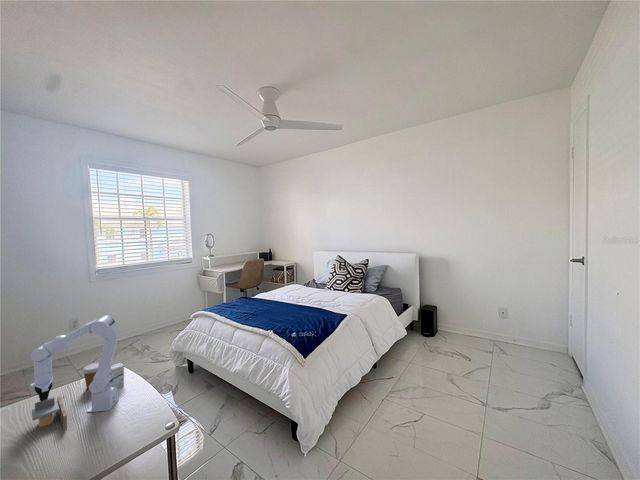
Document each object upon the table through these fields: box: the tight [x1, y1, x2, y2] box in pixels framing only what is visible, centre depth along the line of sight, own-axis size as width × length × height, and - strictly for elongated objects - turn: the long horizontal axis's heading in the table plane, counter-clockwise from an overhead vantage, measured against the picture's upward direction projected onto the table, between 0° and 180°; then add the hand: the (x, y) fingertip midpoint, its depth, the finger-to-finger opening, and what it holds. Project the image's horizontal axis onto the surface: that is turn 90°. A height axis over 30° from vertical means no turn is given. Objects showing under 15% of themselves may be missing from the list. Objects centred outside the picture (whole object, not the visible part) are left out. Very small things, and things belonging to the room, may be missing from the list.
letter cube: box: [38, 414, 54, 428], centre depth 116 cm, size 4×4×4 cm
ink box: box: [110, 362, 125, 389], centre depth 143 cm, size 9×5×12 cm, turn 143°
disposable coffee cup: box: [82, 361, 100, 391], centre depth 143 cm, size 10×10×12 cm
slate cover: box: [31, 396, 59, 421], centre depth 116 cm, size 8×8×4 cm
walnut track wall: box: [56, 395, 68, 431], centre depth 119 cm, size 20×1×6 cm, turn 51°
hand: (44, 400), depth 120 cm, fingers closed
